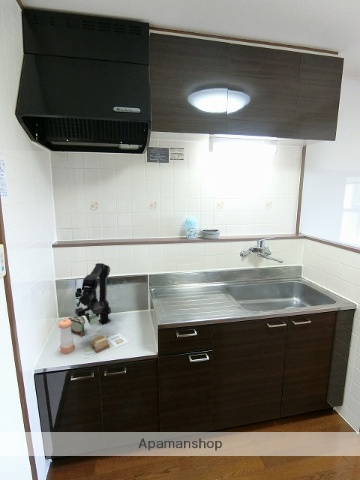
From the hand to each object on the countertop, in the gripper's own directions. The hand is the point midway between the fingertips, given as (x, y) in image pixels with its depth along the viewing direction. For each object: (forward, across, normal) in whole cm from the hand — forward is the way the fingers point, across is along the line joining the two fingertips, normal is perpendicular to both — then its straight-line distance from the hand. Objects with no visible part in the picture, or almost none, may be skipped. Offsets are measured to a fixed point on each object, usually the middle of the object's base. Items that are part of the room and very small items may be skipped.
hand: (93, 321), depth 152 cm
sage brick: (+1, 0, 0) cm, 1 cm away
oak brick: (+10, -1, -9) cm, 14 cm away
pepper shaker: (+13, -16, 0) cm, 20 cm away
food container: (+12, -4, +14) cm, 19 cm away
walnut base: (+13, 0, -9) cm, 16 cm away
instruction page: (+12, +10, -10) cm, 19 cm away
